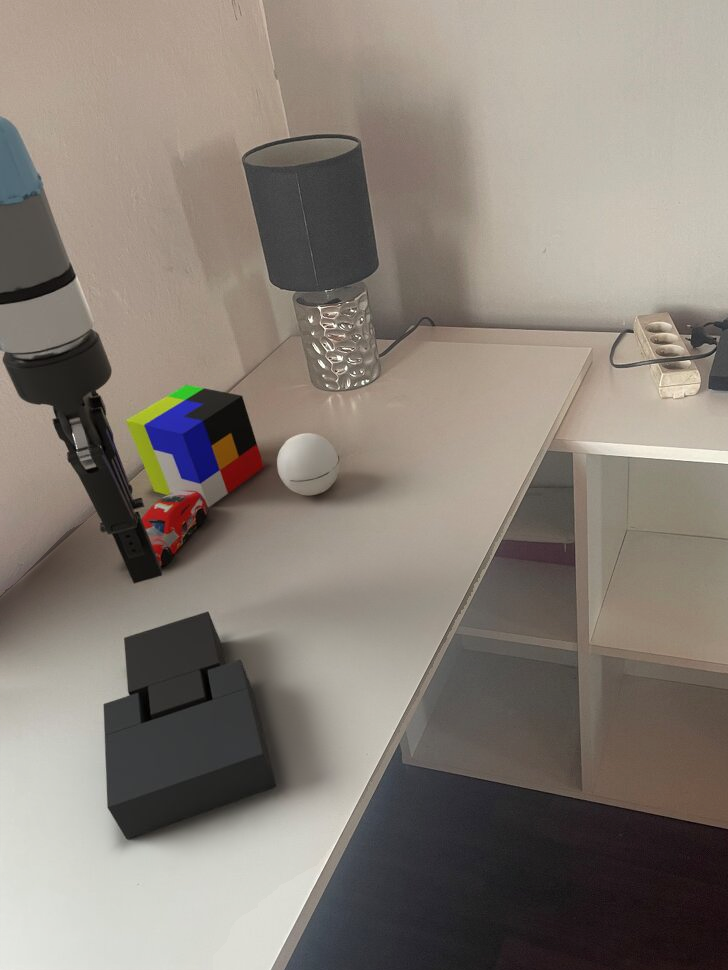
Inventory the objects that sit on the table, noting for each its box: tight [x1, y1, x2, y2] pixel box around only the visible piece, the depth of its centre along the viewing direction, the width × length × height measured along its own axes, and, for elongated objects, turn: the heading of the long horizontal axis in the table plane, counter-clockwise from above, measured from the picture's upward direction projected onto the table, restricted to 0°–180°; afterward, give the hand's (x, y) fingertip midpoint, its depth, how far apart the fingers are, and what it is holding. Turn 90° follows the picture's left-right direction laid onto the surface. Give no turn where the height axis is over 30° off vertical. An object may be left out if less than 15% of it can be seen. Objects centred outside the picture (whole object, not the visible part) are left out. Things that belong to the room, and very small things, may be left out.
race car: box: [141, 491, 209, 567], centre depth 99 cm, size 13×5×4 cm, turn 162°
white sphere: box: [276, 432, 362, 496], centre depth 102 cm, size 10×7×7 cm
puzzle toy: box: [125, 384, 265, 508], centre depth 108 cm, size 10×10×10 cm
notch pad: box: [103, 659, 277, 840], centre depth 72 cm, size 12×12×4 cm
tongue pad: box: [123, 611, 226, 720], centre depth 78 cm, size 12×8×4 cm
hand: (147, 575), depth 83 cm, fingers closed
